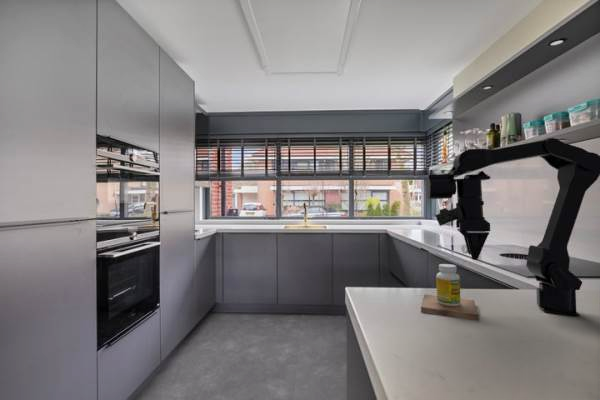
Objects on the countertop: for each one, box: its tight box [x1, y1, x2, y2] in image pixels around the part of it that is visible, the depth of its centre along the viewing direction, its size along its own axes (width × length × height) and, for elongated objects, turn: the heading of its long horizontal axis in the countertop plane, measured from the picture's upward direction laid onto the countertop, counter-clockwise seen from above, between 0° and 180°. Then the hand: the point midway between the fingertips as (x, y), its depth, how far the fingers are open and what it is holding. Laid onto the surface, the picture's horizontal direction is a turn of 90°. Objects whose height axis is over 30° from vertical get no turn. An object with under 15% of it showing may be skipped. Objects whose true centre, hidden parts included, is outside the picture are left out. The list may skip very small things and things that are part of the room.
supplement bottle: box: [435, 263, 461, 306], centre depth 73 cm, size 5×5×10 cm
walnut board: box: [420, 294, 479, 321], centre depth 73 cm, size 12×12×1 cm
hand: (472, 256), depth 76 cm, fingers open, 9 cm apart
